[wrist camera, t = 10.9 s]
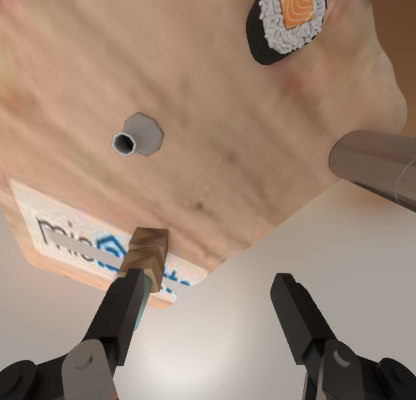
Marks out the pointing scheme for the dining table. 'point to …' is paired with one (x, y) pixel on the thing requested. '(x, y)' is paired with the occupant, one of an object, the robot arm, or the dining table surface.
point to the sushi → (282, 27)
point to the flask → (138, 136)
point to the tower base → (150, 240)
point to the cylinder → (144, 299)
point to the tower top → (145, 265)
